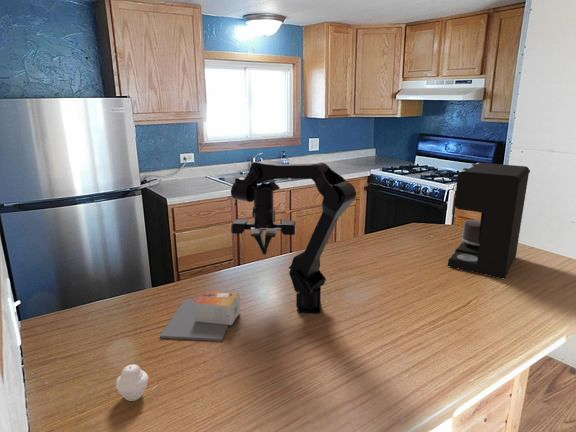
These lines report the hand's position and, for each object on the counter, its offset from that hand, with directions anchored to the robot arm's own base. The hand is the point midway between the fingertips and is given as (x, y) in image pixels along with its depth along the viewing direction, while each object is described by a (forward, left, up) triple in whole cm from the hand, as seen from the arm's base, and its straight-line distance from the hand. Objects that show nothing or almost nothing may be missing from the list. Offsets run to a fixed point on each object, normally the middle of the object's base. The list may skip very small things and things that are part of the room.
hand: (264, 254), depth 125 cm
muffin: (+20, +48, -13) cm, 54 cm away
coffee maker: (-77, -34, -13) cm, 85 cm away
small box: (+5, +17, -10) cm, 20 cm away
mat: (+15, +17, -13) cm, 26 cm away
